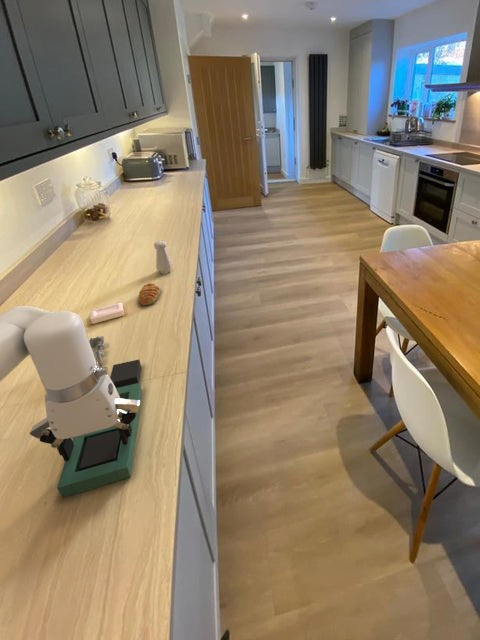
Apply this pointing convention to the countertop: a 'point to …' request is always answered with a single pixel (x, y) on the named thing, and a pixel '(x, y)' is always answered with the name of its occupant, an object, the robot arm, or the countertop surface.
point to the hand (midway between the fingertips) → (98, 445)
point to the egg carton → (97, 348)
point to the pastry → (149, 293)
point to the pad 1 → (100, 450)
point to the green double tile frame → (105, 473)
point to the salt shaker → (162, 258)
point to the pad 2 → (126, 373)
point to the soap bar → (106, 313)
